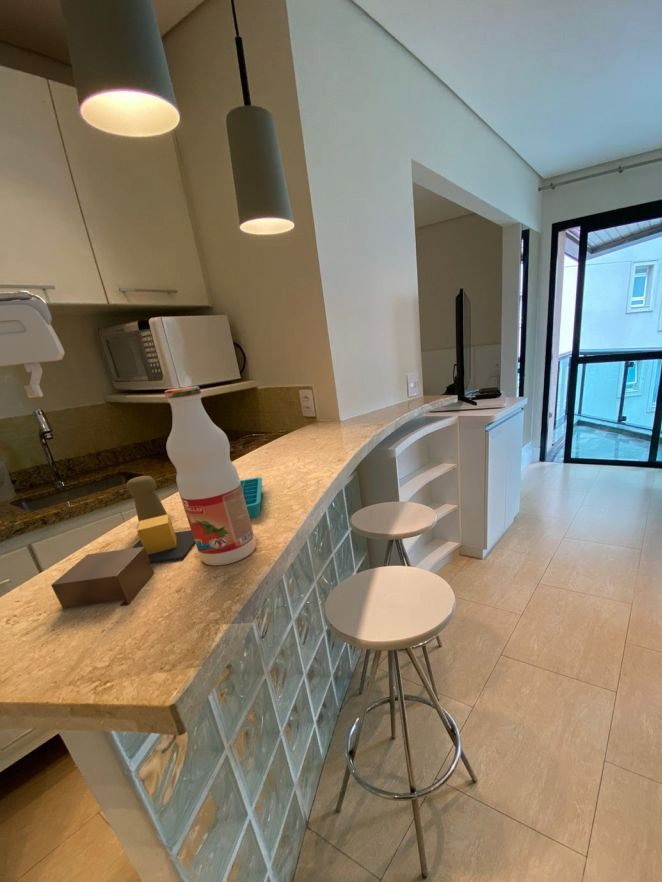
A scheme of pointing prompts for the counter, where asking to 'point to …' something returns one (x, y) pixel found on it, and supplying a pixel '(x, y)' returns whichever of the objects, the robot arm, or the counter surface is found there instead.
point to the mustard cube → (157, 534)
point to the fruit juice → (207, 481)
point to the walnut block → (104, 578)
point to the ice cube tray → (252, 495)
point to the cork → (145, 497)
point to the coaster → (179, 553)
